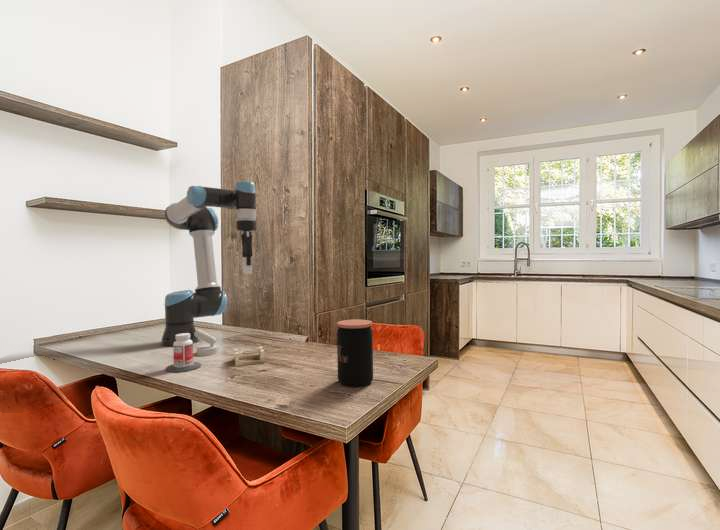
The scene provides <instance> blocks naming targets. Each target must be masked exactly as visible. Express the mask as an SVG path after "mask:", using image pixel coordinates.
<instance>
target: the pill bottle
mask: <svg viewBox="0 0 720 530" xmlns="http://www.w3.org/2000/svg"><path fill="white" fill-rule="evenodd" d="M189 338H190V333H182V334H177V335H175V339H176V341H175V342H174V343H173V346H172V347H173V348H172V349H173V352H172V353H173V364H174V367H176V368H185V367H190V366H192V365H193V362H194V350H193V349H194V343H193V342H192V340H190V339H189Z"/></svg>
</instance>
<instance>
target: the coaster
mask: <svg viewBox="0 0 720 530" xmlns="http://www.w3.org/2000/svg"><path fill="white" fill-rule="evenodd" d="M201 366H202V363H200V362H197V361H193V365H192V366H190V367H185V368H176V367H174V363H173V364H170V365H168V366H166V367H165V371H166V372H168V373H185V372H191V371H195V370H197V369H200V368H201Z"/></svg>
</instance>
